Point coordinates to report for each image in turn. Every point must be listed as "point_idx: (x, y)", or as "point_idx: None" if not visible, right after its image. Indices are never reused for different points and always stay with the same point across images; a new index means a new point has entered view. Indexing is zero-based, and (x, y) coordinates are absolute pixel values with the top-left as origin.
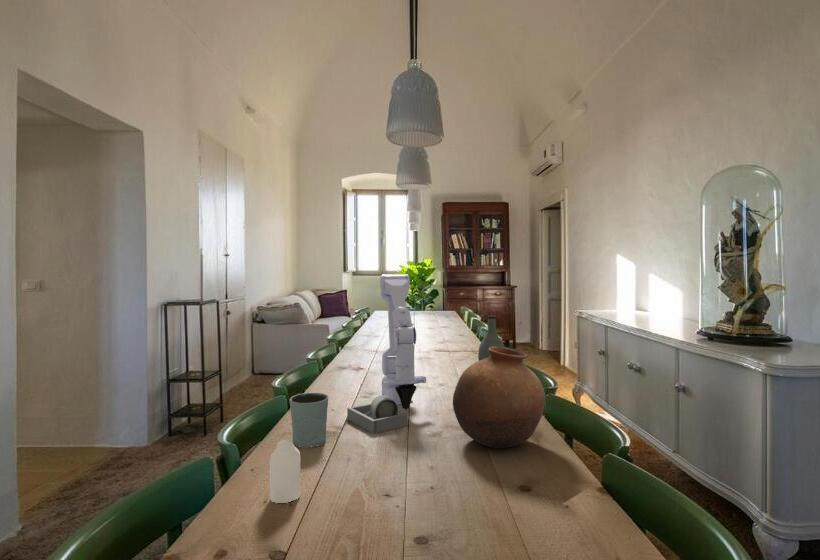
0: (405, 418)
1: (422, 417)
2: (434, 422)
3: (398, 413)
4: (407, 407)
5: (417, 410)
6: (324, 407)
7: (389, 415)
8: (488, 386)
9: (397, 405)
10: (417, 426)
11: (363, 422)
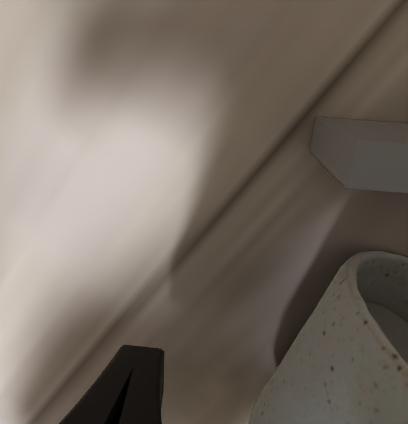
0: (371, 131)
1: (57, 221)
2: (29, 25)
3: (353, 278)
4: (140, 359)
5: (10, 359)
6: None
7: (395, 327)
8: None
9: (404, 361)
10: (250, 35)
11: None
